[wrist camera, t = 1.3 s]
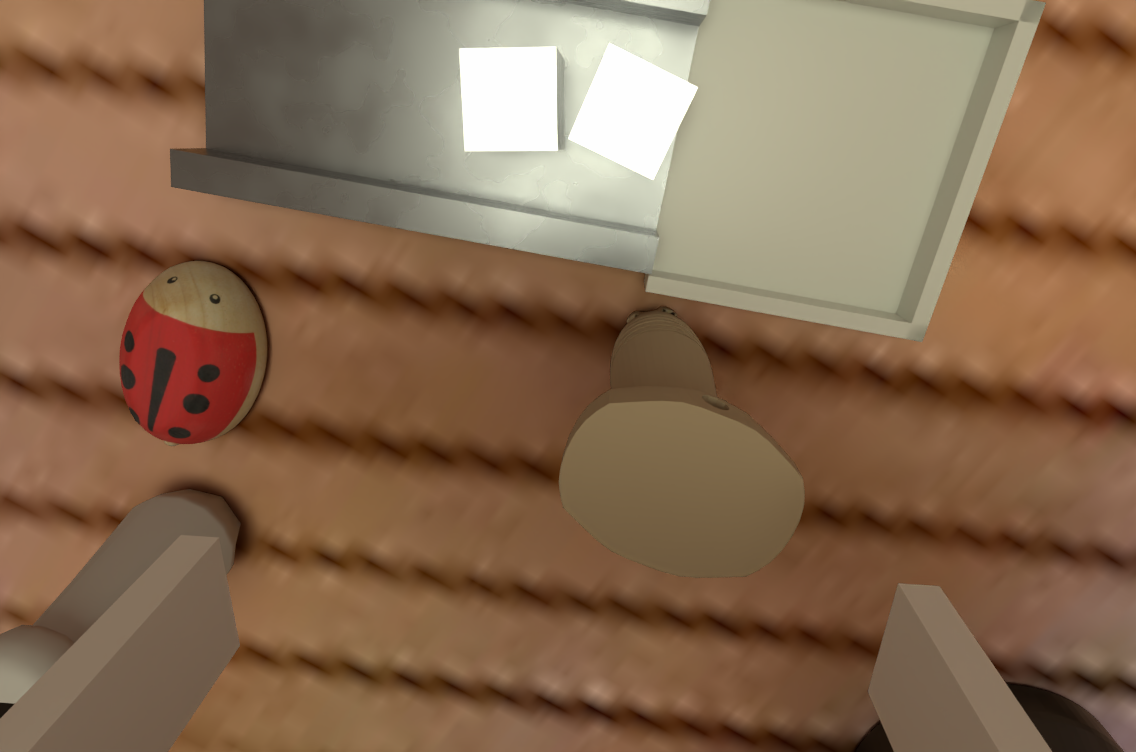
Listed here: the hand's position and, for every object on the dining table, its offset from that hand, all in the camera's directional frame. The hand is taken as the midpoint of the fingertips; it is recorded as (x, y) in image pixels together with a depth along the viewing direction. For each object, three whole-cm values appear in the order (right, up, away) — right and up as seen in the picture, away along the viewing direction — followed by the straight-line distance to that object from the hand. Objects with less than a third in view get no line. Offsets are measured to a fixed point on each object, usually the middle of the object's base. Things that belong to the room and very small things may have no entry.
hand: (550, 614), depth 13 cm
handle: (+4, +7, +19) cm, 20 cm away
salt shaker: (-20, -3, +24) cm, 31 cm away
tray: (+11, +14, +15) cm, 23 cm away
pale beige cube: (-2, +16, +15) cm, 22 cm away
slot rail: (-5, +17, +16) cm, 23 cm away
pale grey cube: (+3, +15, +14) cm, 21 cm away
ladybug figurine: (-18, +6, +21) cm, 28 cm away
